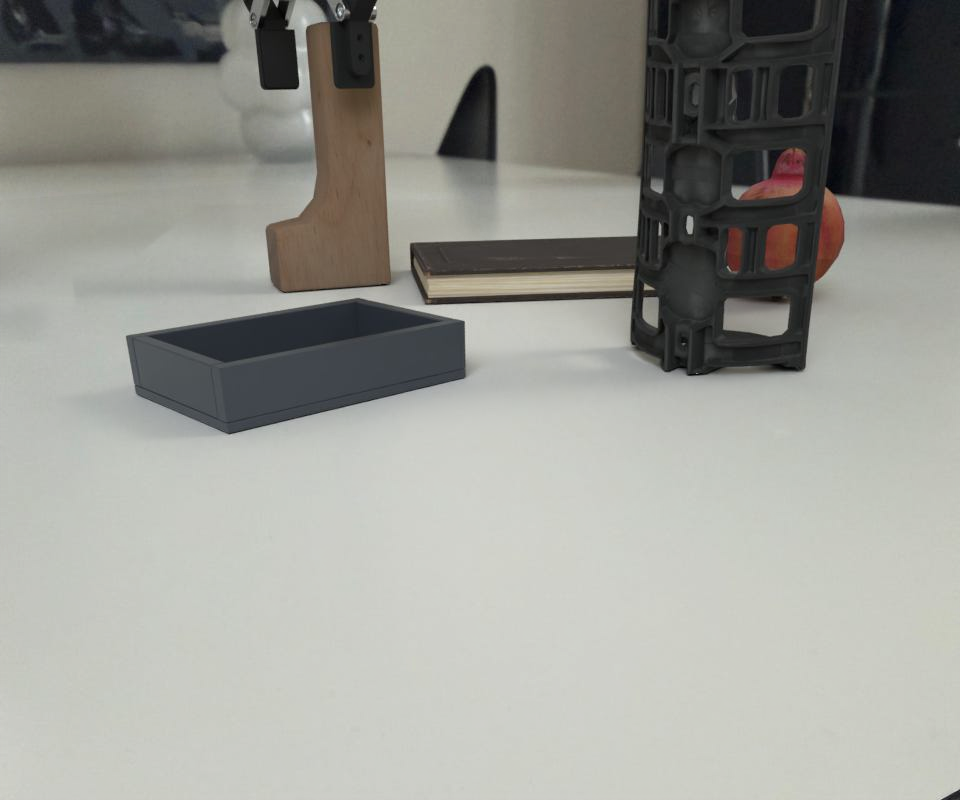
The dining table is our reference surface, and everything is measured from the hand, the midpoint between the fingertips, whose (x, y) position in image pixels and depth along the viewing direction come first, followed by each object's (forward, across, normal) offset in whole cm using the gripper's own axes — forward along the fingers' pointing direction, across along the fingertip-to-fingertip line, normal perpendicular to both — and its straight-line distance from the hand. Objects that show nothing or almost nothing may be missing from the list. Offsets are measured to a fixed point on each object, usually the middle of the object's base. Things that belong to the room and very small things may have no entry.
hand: (316, 88), depth 74 cm
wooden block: (+14, 0, 0) cm, 14 cm away
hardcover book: (+14, +12, +14) cm, 23 cm away
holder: (+14, +37, 0) cm, 40 cm away
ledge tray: (+14, +25, -19) cm, 34 cm away
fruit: (+14, +29, +19) cm, 37 cm away
